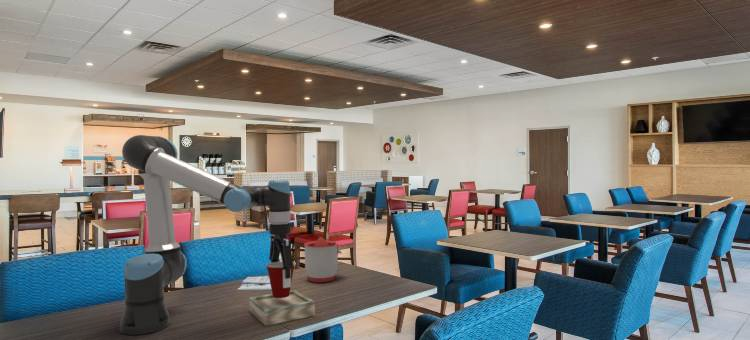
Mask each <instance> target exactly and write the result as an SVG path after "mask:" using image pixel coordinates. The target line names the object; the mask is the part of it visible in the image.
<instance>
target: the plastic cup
mask: <svg viewBox="0 0 750 340" xmlns="http://www.w3.org/2000/svg"><path fill="white" fill-rule="evenodd" d="M296 265H297V263H296V262H294V261H293V268H291V284H292V281H293V275H294V271H295V270H294V269H295V266H296ZM265 267H266V270H267V274H268V276H269V279H270V284H271V288H272V290H271V294H273V297H274V298H285V297H288V296H289V294H290V291H291V288H292V286H291V287H287V288H283V270H282V268H283V263H282V261H280V262H273V263H271V262H268V263H266V264H265Z"/></svg>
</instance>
